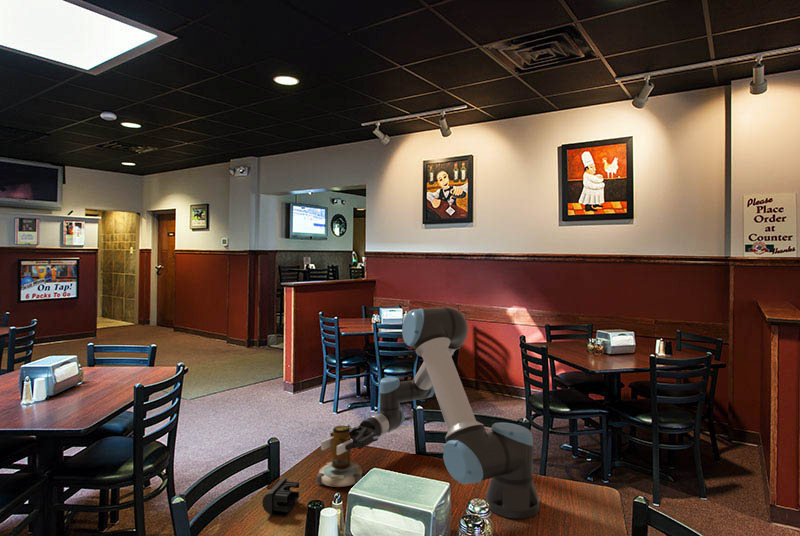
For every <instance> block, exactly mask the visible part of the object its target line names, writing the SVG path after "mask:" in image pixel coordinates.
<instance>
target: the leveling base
mask: <svg viewBox="0 0 800 536" xmlns="http://www.w3.org/2000/svg"><path fill="white" fill-rule="evenodd" d="M362 477H363V469H362V467H361V466H360V465H359V466H356V467H354V468H352V469H348V470H345V471H341V472H340V471H339V470H336V469H335V468H333V467H331V466H329V465H327V464H325V465H323V466H322V467H321V468H320V469H319V471H318V473H317V474H316V485H318V486H323V485H325V486H329V487H332V488H333V487H336V488H341V487H343V488H344V487H348V486H352V485H353V486H354V484H355V483H357V481H359V480H360V479H361V480H362Z"/></svg>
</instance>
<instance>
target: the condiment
mask: <svg viewBox="0 0 800 536" xmlns="http://www.w3.org/2000/svg"><path fill="white" fill-rule="evenodd" d="M347 426H348V425H336V426H334V428H333V429H332V432H333V436H332V446H331V461H329V462H326V464H325V465H329V466H331V467H333V468H335V469H336V470H339V471H340V472H341V471H345V470H348V469H352V468H354V467H356V466H360V465H359V464H357V463H355V462H353V461H351V449H350V450H348V451H346V452H344V453H342V454H340V455H337V446H338V445H340V444H342V443H344V442H346V441H348V440H351V439H350V435H349V427H347Z"/></svg>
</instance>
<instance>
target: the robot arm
mask: <svg viewBox="0 0 800 536" xmlns="http://www.w3.org/2000/svg"><path fill="white" fill-rule="evenodd" d="M468 327H469V326H468V321H467V320H466V318H465V316H464V315H463V313H462V312H460V311H459V310H457V309H456V308H453V307H448V306H447V307H446V306H445V307H435V308H434V307H433V308H418V309H417V308H416V309H411V310H409V311H408V312H407V313H406V314H405V315H404V319H403V321H402V328H401V329H402V331H401V333H402V340H403V341H404V344H405V345H407V346H408V347H413V349H414V351H415V354H416V355H417V356H419V357H421V358H422V360H423V362H422V364H421V366H420V367H419V369H418V371H417V373H415V376H414V377H413V378H412V380H411V379H410V380H405V381H404V380H403V381H400V379H399V377H395V376H386V377H383V378H381V379H380V382H379V391H378V392H379V413H377V414H375V415H372V416H370V417H367V418H365V419H364V420H362V421H361V422H360V424H359V425H357V426H354V427H351V425H350V424H349V425H346V426H347V427H349V435H350V440H348V441H346V442H344V443H342V444H340V445H338V446H337V455H340V454H342V453H344V452H346V451H348V450H350V451H351V449H352V450H353V449H359V450H361V449H363V448H365V447H367V446H368V445H370V444H372V443H374V442H377V441H379V438H380V437H382V436H383V435H385V434H387V433H389V432H392V431H394V430H396V429H398V428H399V427H401V426H402V425H403V424H404V422H405V418H406V417H405V413H404V410H403V409H402V408H401V407H400V404H401V403H404V402H411V401H417V400H426V399H429V398H432V397H433V396H434V395H435V397H436V400H437V402H438V405H439V408H440V411H441V413H442V417H443V420H444V422H445V426H446V428H447V433H446V435H445V437H444V439H445V444H444V446H443V448H442V454H443V455H442V458H443V463H444V465H445V468H446V470H447V471H448V473H449V475H450V476H451V478H453V480H455V481H456V482H457V483H460V484H461V485H470V484H478V483H480V482H483V481H485V480H490V481H489V484H488V487H487V490H486V493H485V494H486V495H485V503H486V502H488V503H489V505H490V507H491V510H490V511H491V512H492V513H494V514H495V515H498V516H501V517H503V518H507V519H515V520H523V519H529V518H532V517H534V516H536V515H538V513H539V511H540V498H539V495H538V493H537V489H536V487H535V483H534V443H533V433H532V432H531V431H530V429H528V428H526V427H525V426H522V425H519V424H516V423H510V422H495V423H493V424H492V425H491V428H490V430H491V432H487V431H486V427H485V425H484V423H481V422H479V421H477V420H476V417H475V414H474V412H473V409H472V407H471V404H470V401H469V398H468V396H467V393H466V391H465V389H464V385H463V383H462V381H461V378H460V376H459V373H458V369H457V368H456V365H455V362H454V360H453V357H452V356H453V354H454V353H455V351H456V350H458V349H461V348H462V347H463V344H464V343H465V341H466V339H467V337H468V331H469V328H468ZM332 436H333V431H332V432H330V437H328V438H326V439H324V440H321V441H320V450H321V451H325V450H326V449H329V448H332Z"/></svg>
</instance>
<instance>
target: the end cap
mask: <svg viewBox="0 0 800 536" xmlns="http://www.w3.org/2000/svg"><path fill="white" fill-rule="evenodd" d="M291 488H295V489H299V488H300V482H299V481H288V477H283V478H281V479H280V480H278V482H276V484H275V485H274V486H273V487H271V489H270V490H269V491H268V492H267V493H266V494H265V495H264V497H262V503H261V505H262V508H263V510H264V511H265V513H267V514H268V515H270V516H272V517H274V518H275V517H276V518H278V517H279V518H288V516H289V515H290V514H291V513H292V512H293V510H294V509H295V507H296V506H297V505H298V504H299V498H300V491H294V490H291Z"/></svg>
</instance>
